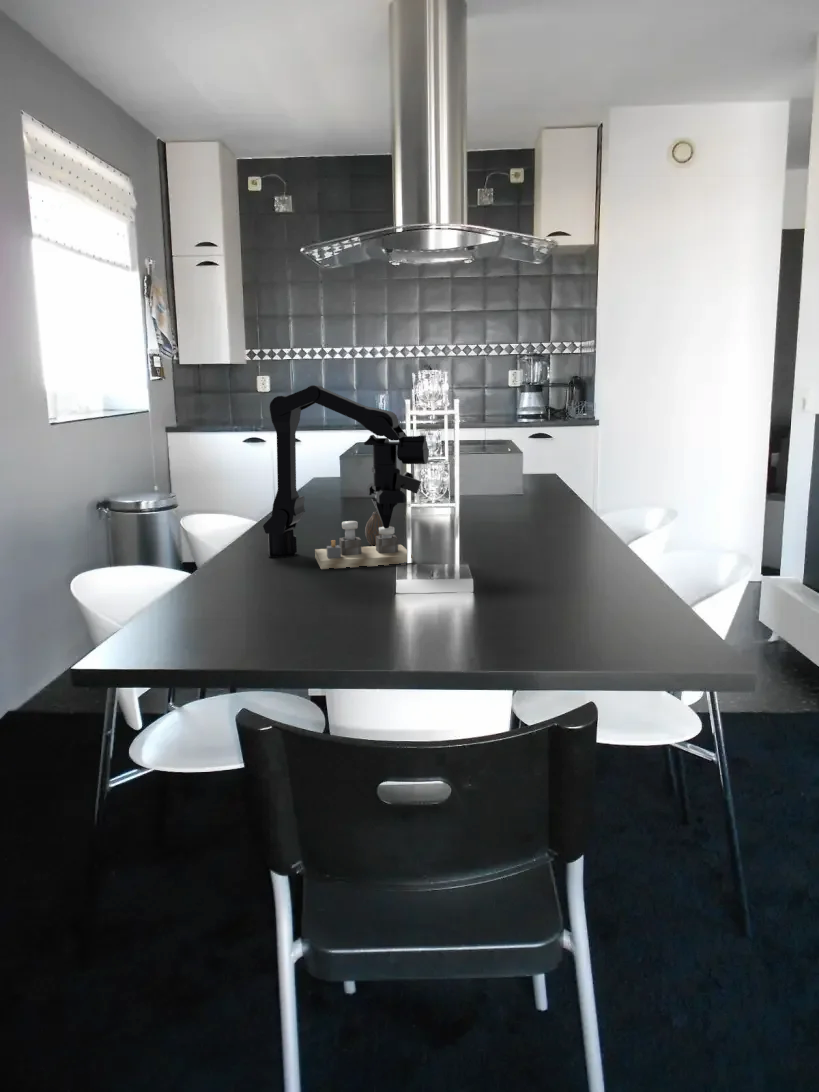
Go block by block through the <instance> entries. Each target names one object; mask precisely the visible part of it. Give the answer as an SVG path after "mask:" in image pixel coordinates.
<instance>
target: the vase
mask: <svg viewBox="0 0 819 1092" xmlns="http://www.w3.org/2000/svg"><path fill="white" fill-rule="evenodd" d="M365 524H366V525H365V529H364V535H365V539H366V541H367V542H368V544H369V545H371V546H373V545H375V546H376V536H381V534H379V527H384V526H383V524H382V522H381V519H380V517H379V515H378V512H377V511H373V512H372V514H371V516H370V517H369V519H368V521H367V522H366V523H365ZM389 527H391V524H390V525H389Z"/></svg>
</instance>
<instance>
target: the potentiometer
mask: <svg viewBox="0 0 819 1092" xmlns="http://www.w3.org/2000/svg"><path fill="white" fill-rule="evenodd" d="M330 542H331V543H330V545H326V549H327V557H328V559H331V558H341V548H340V544H337V543H336V540H335V539H332V540H330ZM336 544H337V545H336Z"/></svg>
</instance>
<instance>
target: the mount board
mask: <svg viewBox="0 0 819 1092" xmlns="http://www.w3.org/2000/svg"><path fill="white" fill-rule="evenodd" d="M338 541H339V546H340V548H341V558H331V559H328V557H327V548H315V549H314V555H315V556H314V559H315V560H316V562H317V564H318V567H320V568H319V569H321V570H330V569H329V568H334V569H347V568H346V567H350V568H360V567H359V566H367V567H379V566H378V565H384V566H390V565H389V564H399V563H404V562H407V550H408V549H407V548H406V547H405V546H403V545H402V544H399V537H397V535H395V534H392V538H382V535H381V536H376V546H373V545H371V546H362V539H361V538H360V536H355V540H345V536H344V537H339V540H338ZM411 558H412V559H413V558H414V554H412V553H411ZM413 560H414V559H413Z"/></svg>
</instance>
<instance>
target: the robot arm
mask: <svg viewBox="0 0 819 1092" xmlns="http://www.w3.org/2000/svg"><path fill="white" fill-rule="evenodd" d="M315 404H317V405H320V406H322V407H324V408H326V409H329V410H331V411H333V412H336V413H338V414H340V415H342V416H345V417H347V418H348V419H353V420H354V421H356V422H357V423H359V424H360V425H362V426H363V427H364V428H365V429H367V430H368V431H369V432H370V433H372V434H370V436H369V437H368V438H367V440H365V442H363V445H364V446H372V463H373V464H372V465H373V467H371V472H372V473H373V482H370V483H369V485H368V486H367V495H368V496H372V495H374V497H371V501H372V503H373V505H374V507H375V510H376V512H378V515H379V517H380V519H381V522H382V524H383V526H384V528H389V525H390V526H391V520H392V515H393V511H394V508H395V507H396V506H397V505H398V504H405V503H406V494H405V493H404V492H403V490H402V489H404V490H407V491H410V492H412V494H416V495H417V494H418V492H419V489H420V487H421V484H422V481H421V480H419V479H416V478H414V475H413V473H412V472H408V471H405V472H404V473H403V474H401V470H400V469H399V468H398V461H401V463H402V464H403V465H427V464H428V461H429V455H430V451H429V450H430V449H429V446H428V442H427V436H426V435H423V434H422V435H420V434H419V435H412V436H411V435H407V434H406V432H405V431H404V430H403V428H402V427H401V426H400V424H399V418H398V416H397V414H396V413H395V412H394V411H390V410H386V409H382V408H377V407H371V406H369V405H367V406H366V405H363V404H361V403H359V402H357V401H354V400H352V399H350V398H347V397H345V396H343V395H340V394H338V393H336V392H333V391H332V390H329V389H326V388H324V387H323V386H322V385H317V384H314V385H313V384H312V385H309V386H308V387H306V388H304V389H302V390H299V391H296V392H294V393H291V394H289V395H278V396H276V397H274V398H273V399H272V400H270V402H269V406H268V407H269V413H270V414H269V415H270V419H271V423H272V425H273V427H274V430H275V433H276V464H277V465H276V467H277V468H276V469H277V470H276V471H277V472H276V474H277V491H276V495H275V497H274V500H273V503H272V509H271V517H270V518H269V519H268V520H267V521H266V522H265V523H264V524H263V526H262V527H263V530H264V532H265V534H267V535H268V538H267V539H268V540H267V541H268V557H269V558H284V557H285V558H286V557H295V556H296V553H297V551H298V549H297V535H295V533H294V529H296V528H297V524H298V522H300V520H301V519H302V517H303V514H304V513H305V512H306V510H305V496H304V495H301V496H300V495H299V493H298V490H297V469H296V468H297V464H296V463H297V462H296V461H297V459H296V457H297V455H296V454H297V452H296V451H297V450H296V447H297V445H296V432H297V429H298V426H299V424H300V420H301V414H302V411H303V410H305V409H308V408H310V407H311V406H313V405H315ZM375 435H376V436H378V437H376V436H375Z"/></svg>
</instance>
